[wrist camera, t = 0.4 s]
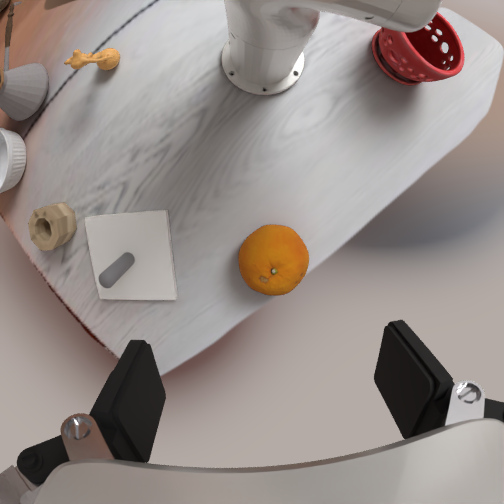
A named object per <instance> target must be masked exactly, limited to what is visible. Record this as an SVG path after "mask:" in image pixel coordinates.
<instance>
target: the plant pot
mask: <svg viewBox="0 0 504 504" xmlns="http://www.w3.org/2000/svg"><path fill="white" fill-rule="evenodd" d="M431 21H432V22H433V23H431V22H429V23H428V24H427V25H428V26H430V27H431V30H428V29H426V28H425V27H423V28H422V29H420V30H418V31H414V32H399V31H394V30H391V29H387V28H384V27H381V29H380V30H378V31H377V32H376V33H375V35H374V37H373V40H372V51H373V54H374V57H375V60H376V62H377V63H378V65H379V66H380V68H381V69H382V70H383V71H384V72H385V73H386V74H387V75H388V76H389V77H391V78H392V79H394V80H395V81H397V82H399V83H402V84H405V85H417V84H419V83H421V82H432V81H438V80H443V79H447V78H449V77H452V76H455V75H457V74H458V73H459V72H460V71H461V69H462V67H463V65H464V51H463V47H462V44H461V41H460V39H459V37H458V35H457V33H456V32H455V30H454V29H453V27H452V26H451V25H450V23H449V22H448V21H447V20H446V19H445V18H444V17H443V16H442V15H441V14H439V13H438V12H437V13H436V15H435V16H434V18H433V19H432V20H431ZM436 29H439V30H441V32H442V35H439V34H438V33H437V31H436ZM432 35H435V36H436V37H437V39H438V41H437V42H435V41H434V40H433V39H432ZM443 42H446V43H447V44H448V47H449V49H448V52H447V53H444V52H443V51H442V48H441V45H442V43H443ZM451 56H453V60H452V61H450V58H451ZM444 61H446V62H445V64H443V63H444ZM449 67H450V68H449ZM448 68H449V69H448ZM447 69H448V70H447Z"/></svg>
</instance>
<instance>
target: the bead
mask: <svg viewBox="0 0 504 504" xmlns="http://www.w3.org/2000/svg"><path fill="white" fill-rule="evenodd" d="M28 225H29V231H30V237H31V240H32V241H33V242H34V244H35V245H36V246H37V247H38V248H39V249H40V250H41V251H42V250H53V249H55V248H57V247H58V246H60V245H62V244H64V243H66V242H67V241H69V240H70V239H71V238H72V236H73V234H74V232H75V231H76V229H77V226H76V219H75V212H74V211H73V210H72V209H71V208H70V207H69V206H68V205H67V204H66V203H65V202H63V203H56V204H52V205H48V206H45V207H42V208H39V209H36V210H34V211H33V214H32V216H31V218H30V220H29V223H28Z"/></svg>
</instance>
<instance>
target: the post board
mask: <svg viewBox="0 0 504 504" xmlns="http://www.w3.org/2000/svg"><path fill="white" fill-rule="evenodd" d="M84 219H85V226H86V233H87V239H88V245H89V251H90V256H91V261H92V267H93V271H94V276H95V281H96V285H97V289H98V294H99V298H100V299H115V300H176V299H177V297H178V292H177V285H176V278H175V270H174V262H173V253H172V244H171V234H170V224H169V213H168V210H155V211H141V212H129V213H117V214H106V215H96V216H88V217H86V218H84Z"/></svg>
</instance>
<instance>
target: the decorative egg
mask: <svg viewBox="0 0 504 504" xmlns="http://www.w3.org/2000/svg"><path fill="white" fill-rule="evenodd" d="M9 1H10V0H0V11H2V10H3V9H4V8H5V7H6V6H7V4H8V3H9Z"/></svg>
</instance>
